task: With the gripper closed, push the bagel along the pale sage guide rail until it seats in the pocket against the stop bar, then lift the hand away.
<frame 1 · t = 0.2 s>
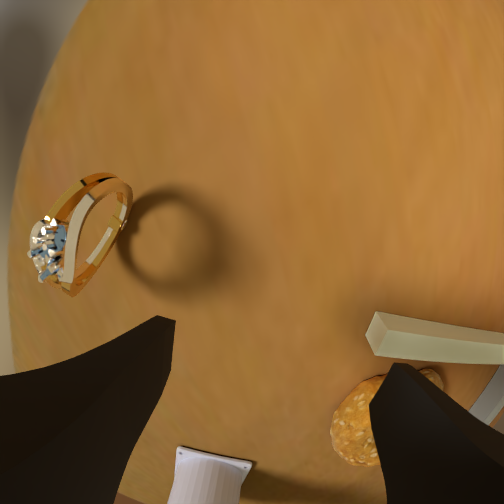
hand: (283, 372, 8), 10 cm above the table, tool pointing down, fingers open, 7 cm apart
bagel: (384, 401, 21), on the table
guide: (435, 405, 21), on the table
ring: (123, 220, 18), on the table
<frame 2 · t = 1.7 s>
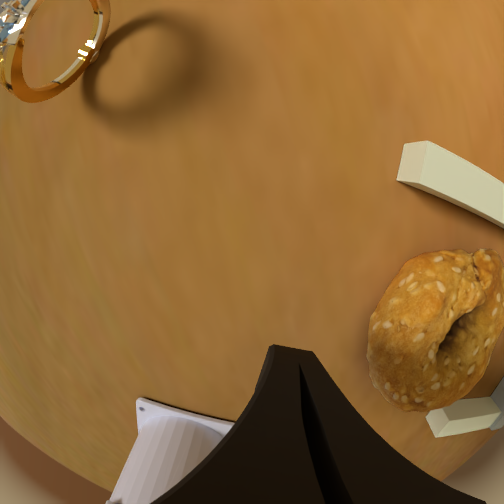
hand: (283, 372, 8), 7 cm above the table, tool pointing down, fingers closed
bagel: (433, 312, 15), on the table
guide: (488, 328, 15), on the table
ring: (94, 57, 12), on the table
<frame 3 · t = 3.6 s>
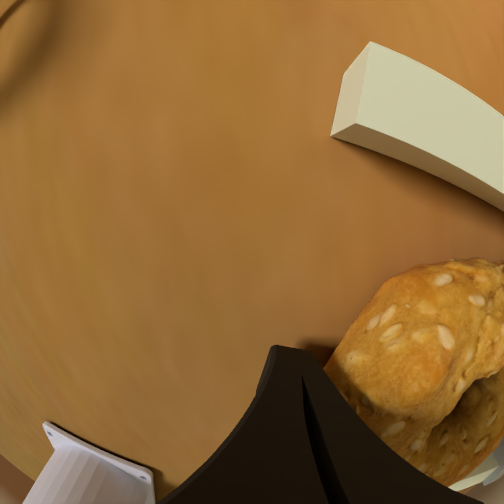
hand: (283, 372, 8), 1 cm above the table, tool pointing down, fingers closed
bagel: (432, 353, 9), on the table, touching gripper
guide: (494, 373, 9), on the table
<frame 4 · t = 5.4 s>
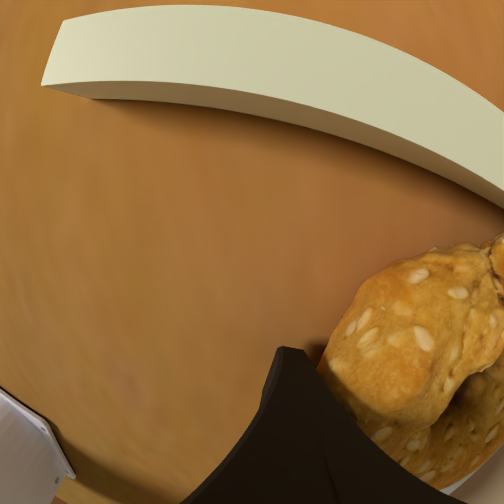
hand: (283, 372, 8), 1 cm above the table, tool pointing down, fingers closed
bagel: (432, 344, 9), on the table, touching gripper, guide
guide: (382, 368, 9), on the table
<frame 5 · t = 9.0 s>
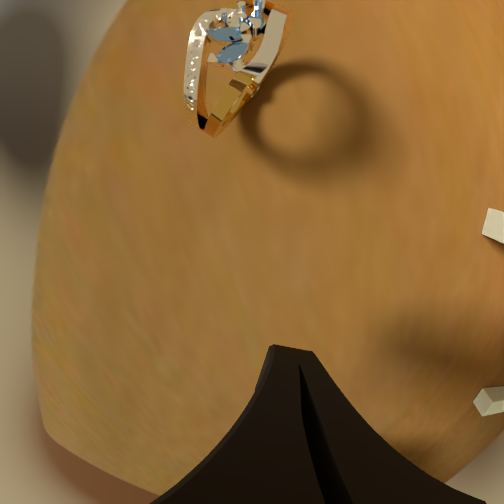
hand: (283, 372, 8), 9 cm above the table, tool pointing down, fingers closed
ring: (250, 90, 15), on the table
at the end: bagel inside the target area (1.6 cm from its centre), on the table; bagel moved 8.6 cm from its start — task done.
